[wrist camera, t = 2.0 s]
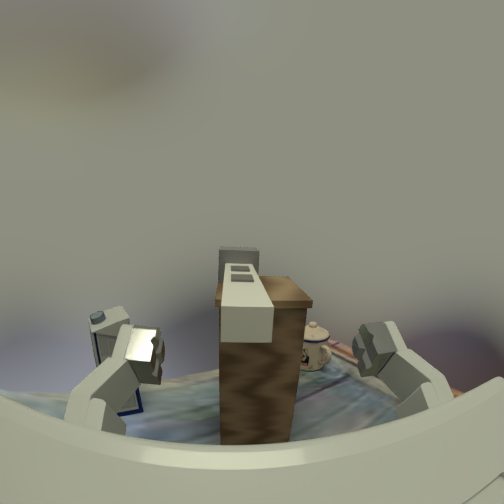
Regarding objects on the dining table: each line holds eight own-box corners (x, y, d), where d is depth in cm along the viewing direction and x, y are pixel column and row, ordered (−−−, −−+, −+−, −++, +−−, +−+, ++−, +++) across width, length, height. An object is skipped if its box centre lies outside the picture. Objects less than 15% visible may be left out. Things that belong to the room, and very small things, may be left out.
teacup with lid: (283, 360, 68) (287, 320, 67) (310, 353, 72) (314, 314, 71) (312, 381, 57) (319, 336, 56) (339, 370, 62) (347, 328, 61)
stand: (217, 448, 35) (215, 299, 32) (219, 397, 50) (219, 274, 47) (291, 445, 36) (312, 300, 33) (277, 397, 51) (288, 276, 48)
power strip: (207, 341, 21) (207, 279, 20) (219, 276, 46) (220, 246, 46) (283, 342, 21) (288, 281, 20) (254, 277, 47) (256, 247, 46)
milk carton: (143, 412, 42) (129, 316, 40) (111, 418, 38) (89, 320, 36) (133, 393, 47) (121, 304, 45) (103, 397, 43) (86, 306, 41)
